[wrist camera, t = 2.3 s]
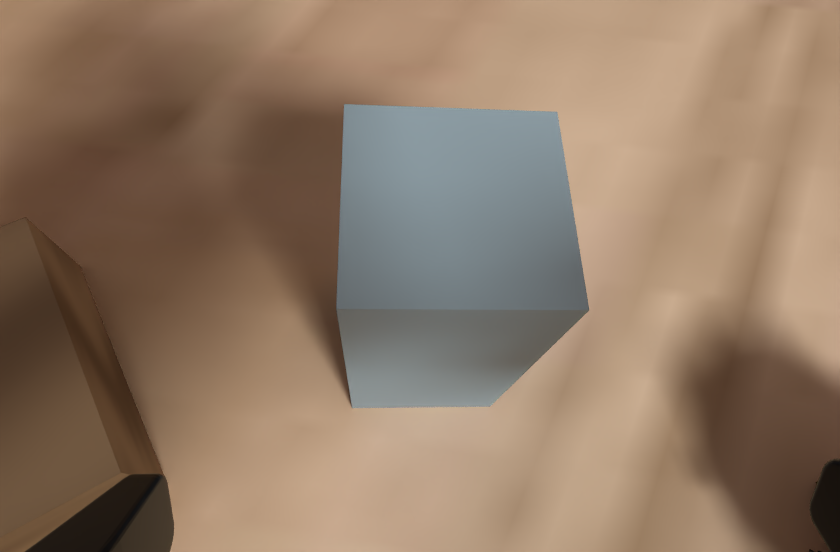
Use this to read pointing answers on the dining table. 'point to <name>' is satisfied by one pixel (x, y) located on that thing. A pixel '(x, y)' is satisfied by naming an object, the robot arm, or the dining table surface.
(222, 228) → the dining table surface
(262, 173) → the dining table surface
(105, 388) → the walnut block
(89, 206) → the dining table surface
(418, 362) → the blue block
